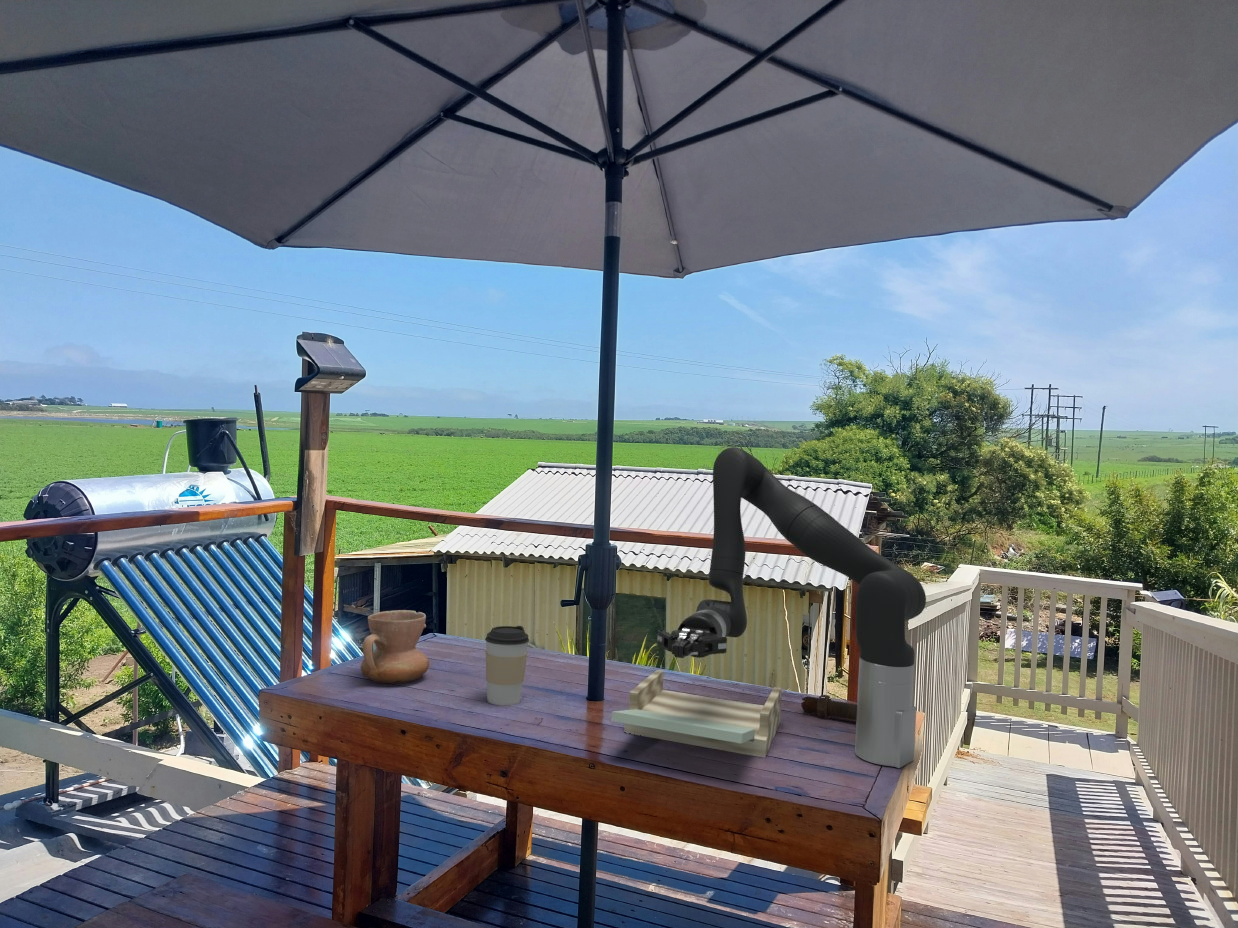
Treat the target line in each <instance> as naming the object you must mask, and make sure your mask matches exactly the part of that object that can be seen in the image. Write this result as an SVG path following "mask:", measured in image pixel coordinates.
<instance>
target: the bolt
mask: <svg viewBox="0 0 1238 928" xmlns="http://www.w3.org/2000/svg"><path fill="white" fill-rule="evenodd" d="M821 697H825V698H821ZM829 698H831V697H830V695H827V694H821V695H819V697H816V696H815V697H813V696H809V695H808V696H804V697H802V698H801V700H802V702H801V706H800V707H801V709H802V710H803V712H806V713H811V714H816V715H817V716H818V718H819V717H820V718H821V719H824V718H827V719H829V718H830V717H834V718H839V719H845V720H851V721H856V717H857V704H856V703H849V702H845V701H837V700H833V699H832V698H831V699H829ZM829 716H830V717H829ZM828 717H829V718H828Z"/></svg>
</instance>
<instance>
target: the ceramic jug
mask: <svg viewBox="0 0 1238 928" xmlns="http://www.w3.org/2000/svg"><path fill="white" fill-rule="evenodd" d="M426 619H427V616H426V613H424V612H421V611H418V612H416V610H409V609H408V610H407V609H403V610H402V609H398V610H386V611H380V612H375V613H374V614H370V615H369V616H367V624H368V628H369V629H368V630H369V632H370V635H368V636H366V637H364V640H363V642H362V654H363V658H364V659H363V660H362V661H361V664H360V670H361V673H362V674H363V676H364V677H366V678H367V679H369V680H371V681H374V682H378V683H382V684H403V683H404V684H405V683H408V682H411V681H412V682H413V681H415V680H417V679H420V678H421V677H423V675H425V674H426V673H427V671H428V669H429V667H430V659H429V658H428V656H427V655H426V654H425V653H423V652H422V651H421V650H419V649H418V648H417V647H416V646H417V645H418V643H419V640H420V638H421V635H422V633H423V631H424V629H426V627H427V625H426ZM374 645H375V647H376V649H375V650H374V651H373V646H374Z"/></svg>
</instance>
